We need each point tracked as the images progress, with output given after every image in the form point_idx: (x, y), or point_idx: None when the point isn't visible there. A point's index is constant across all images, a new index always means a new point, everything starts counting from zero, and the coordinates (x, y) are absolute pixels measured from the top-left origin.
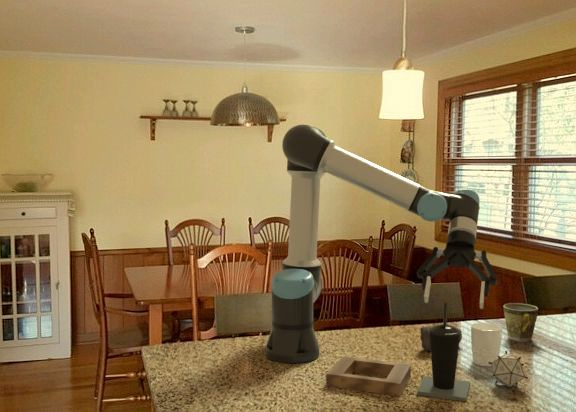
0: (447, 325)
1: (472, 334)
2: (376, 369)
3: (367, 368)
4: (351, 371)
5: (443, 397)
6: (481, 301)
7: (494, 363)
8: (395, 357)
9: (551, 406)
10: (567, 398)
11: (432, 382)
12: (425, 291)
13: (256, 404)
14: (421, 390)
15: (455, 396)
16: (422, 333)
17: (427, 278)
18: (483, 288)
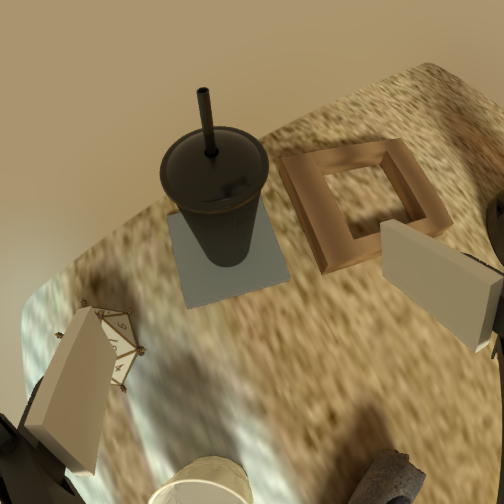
0: (201, 152)
1: (239, 486)
2: None
3: None
4: (409, 206)
5: None
6: (81, 312)
7: (124, 333)
8: (416, 369)
9: (43, 289)
10: (26, 344)
11: (255, 250)
12: (413, 231)
13: (392, 82)
14: None
15: None
16: (407, 455)
17: (485, 267)
18: (47, 375)
